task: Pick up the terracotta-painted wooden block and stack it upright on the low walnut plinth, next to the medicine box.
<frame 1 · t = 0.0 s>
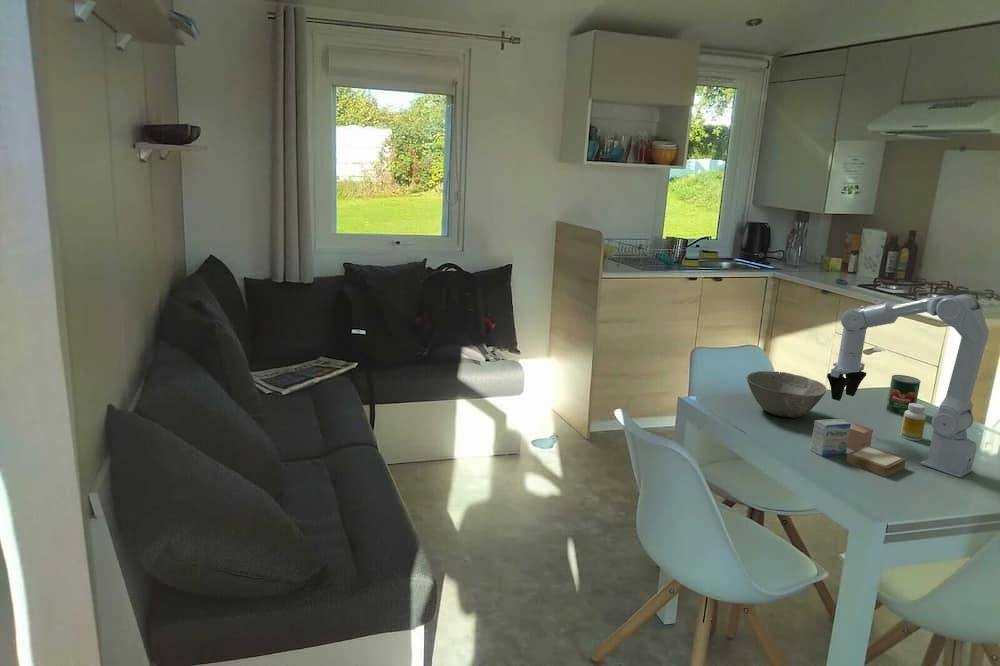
hand: (843, 397, 201), 10 cm above the table, fingers open, 7 cm apart
canned tomato: (899, 412, 222), on the table
supplement bottle: (910, 438, 201), on the table
block: (855, 447, 192), on the table
medicine box: (827, 453, 188), on the table
ceramic bowl: (781, 414, 216), on the table
walnut plinth: (874, 465, 180), on the table
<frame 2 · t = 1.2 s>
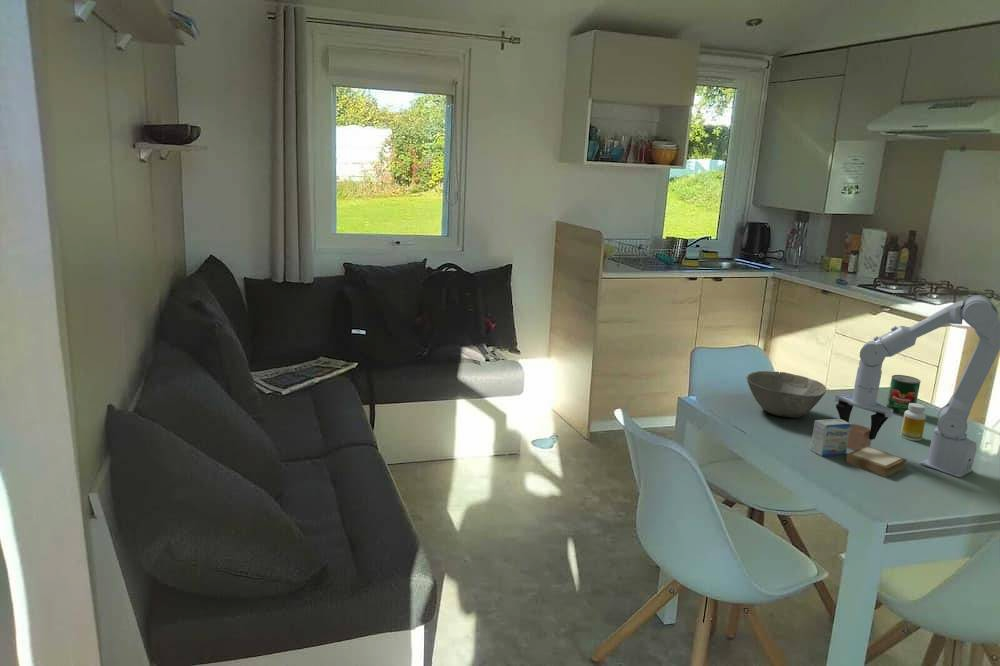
hand: (857, 433, 191), 4 cm above the table, fingers open, 7 cm apart
nothing on the table moved.
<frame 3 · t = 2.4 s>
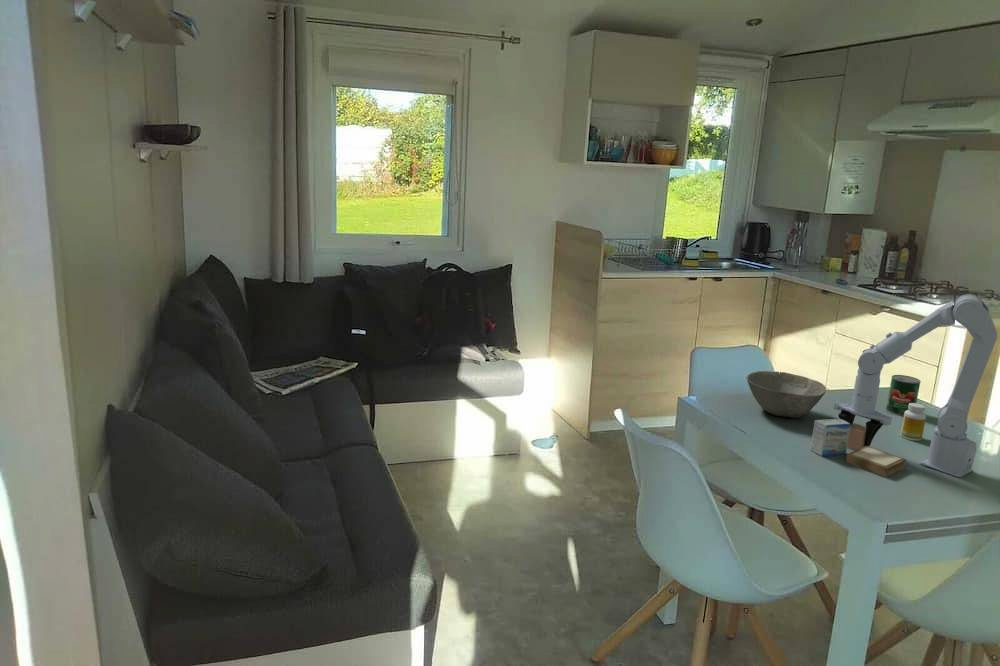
hand: (856, 441, 192), 1 cm above the table, fingers closed on block, 5 cm apart
block: (855, 446, 192), on the table, touching gripper
everything else where it was.
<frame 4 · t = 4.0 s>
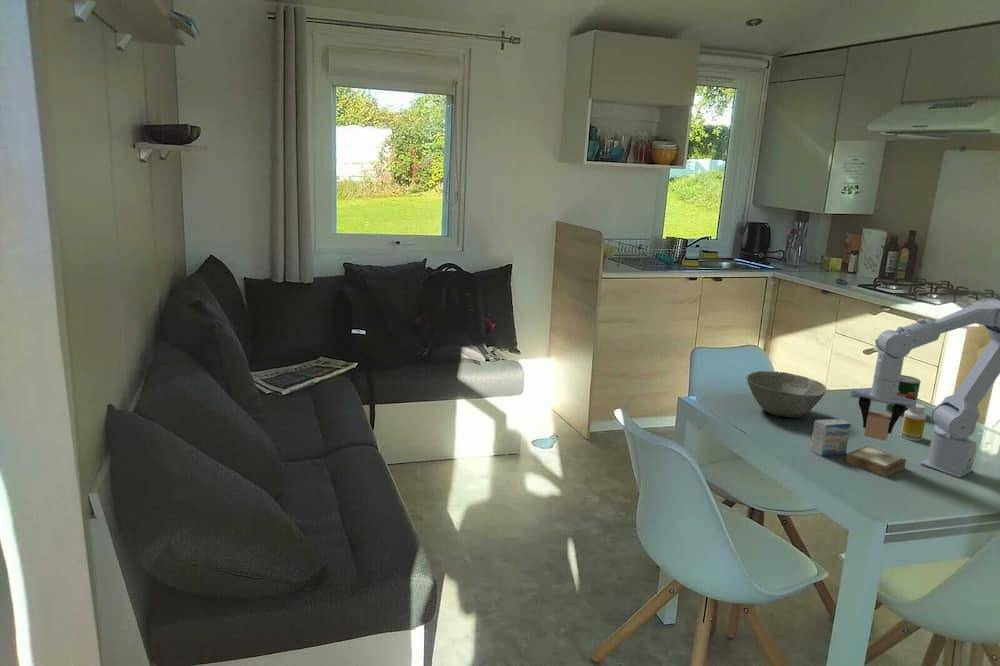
hand: (877, 429, 180), 9 cm above the table, fingers closed on block, 5 cm apart
block: (876, 435, 181), point 7 cm above the table, touching gripper
everything else where it was.
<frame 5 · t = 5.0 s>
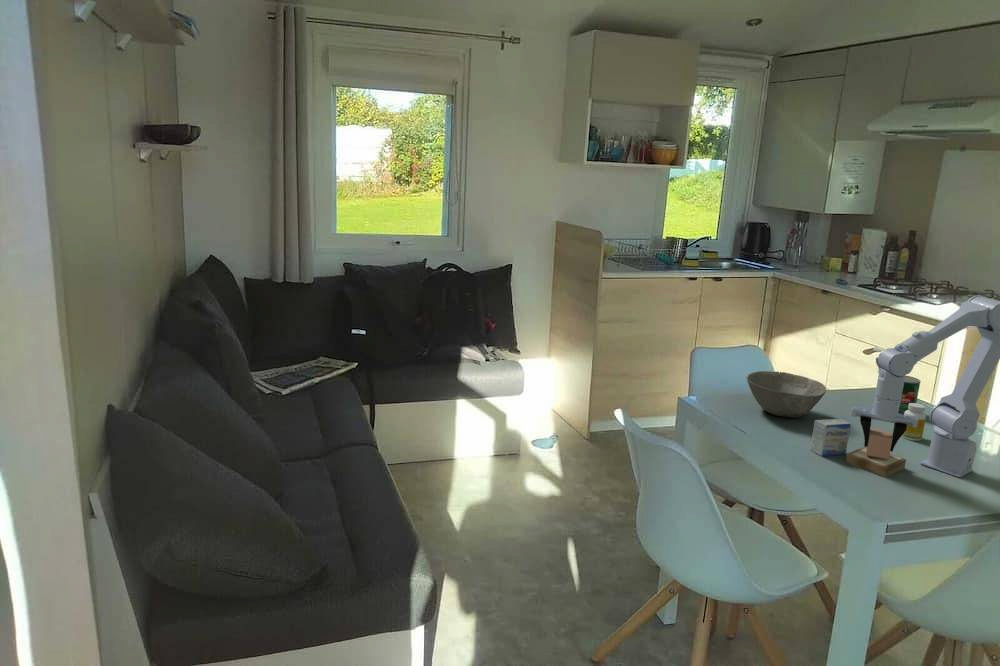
hand: (878, 447, 179), 5 cm above the table, fingers closed on block, 5 cm apart
block: (877, 453, 180), point 3 cm above the table, touching gripper
everything else where it was.
when the fingers open (5 cm above the table, at t = 5.8 s): block stays where it is, resting on walnut plinth.
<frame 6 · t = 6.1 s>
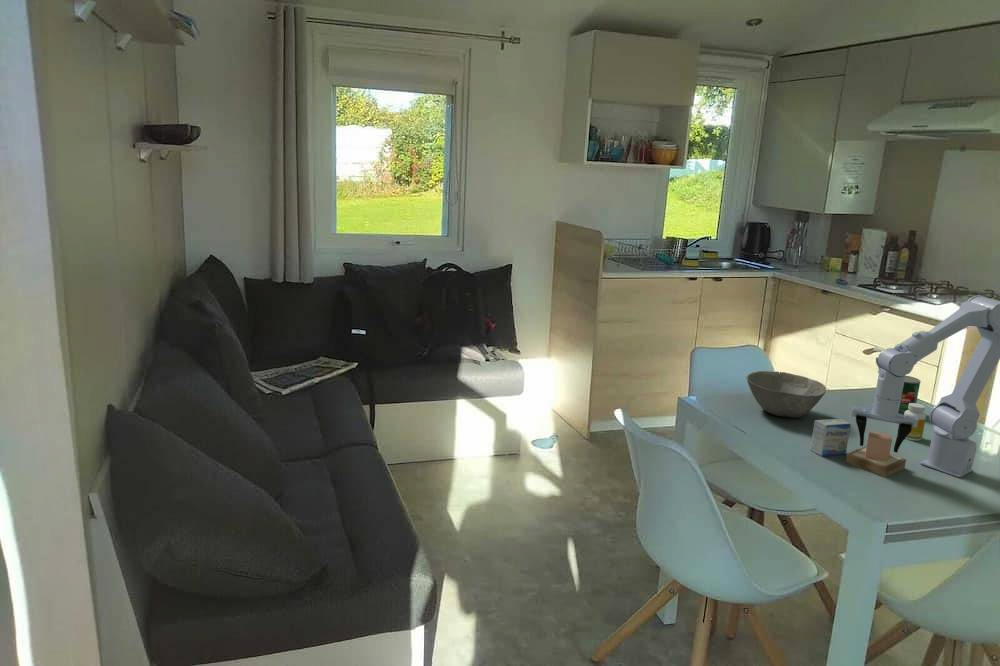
hand: (878, 447, 179), 5 cm above the table, fingers open, 7 cm apart
block: (876, 456, 180), point 3 cm above the table, touching walnut plinth
everything else where it was.
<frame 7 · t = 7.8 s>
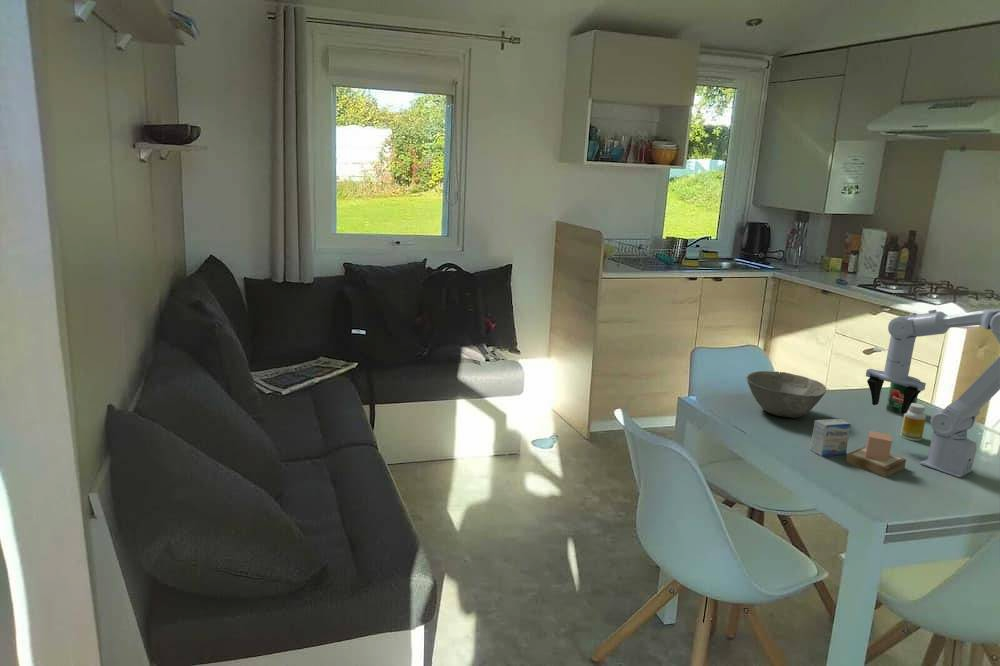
hand: (889, 408, 192), 10 cm above the table, fingers open, 7 cm apart
nothing on the table moved.
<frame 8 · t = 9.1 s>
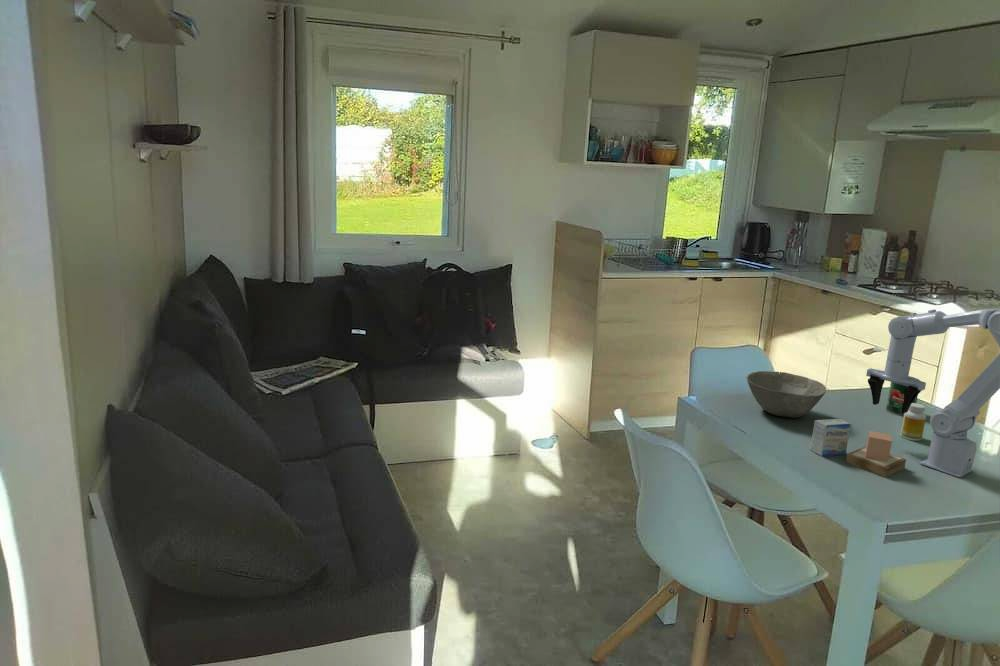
hand: (889, 408, 193), 10 cm above the table, fingers open, 7 cm apart
nothing on the table moved.
at the end: block inside the target area on the walnut plinth (0.1 cm from its centre), point 2.5 cm above the walnut plinth's base; block tilted 0°; the gripper is holding nothing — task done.
